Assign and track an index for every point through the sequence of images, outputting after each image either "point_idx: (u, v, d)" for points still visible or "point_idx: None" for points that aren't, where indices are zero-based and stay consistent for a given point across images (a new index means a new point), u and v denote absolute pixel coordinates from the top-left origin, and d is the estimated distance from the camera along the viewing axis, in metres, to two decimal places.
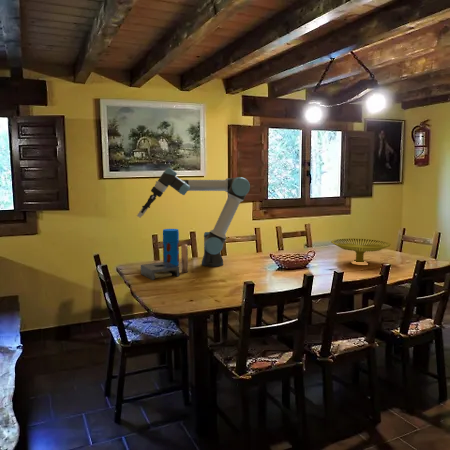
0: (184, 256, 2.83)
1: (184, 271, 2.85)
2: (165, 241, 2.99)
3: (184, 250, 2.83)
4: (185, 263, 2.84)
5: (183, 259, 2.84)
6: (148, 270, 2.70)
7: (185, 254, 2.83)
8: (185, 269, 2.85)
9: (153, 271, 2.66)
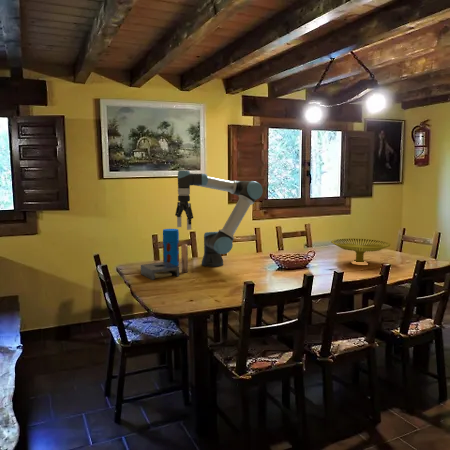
0: (184, 256, 2.83)
1: (184, 271, 2.85)
2: (165, 241, 2.99)
3: (184, 250, 2.83)
4: (185, 263, 2.84)
5: (183, 259, 2.84)
6: (148, 270, 2.70)
7: (185, 254, 2.83)
8: (185, 269, 2.85)
9: (153, 271, 2.66)
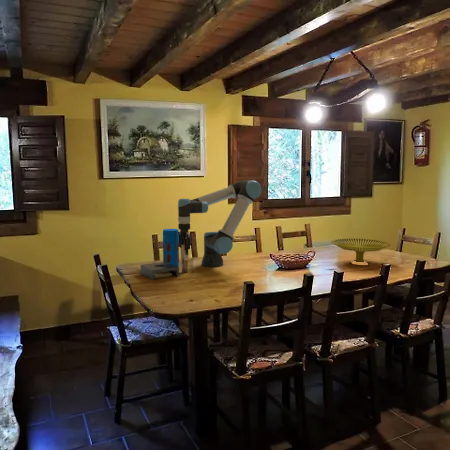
0: None
1: (184, 271, 2.85)
2: (165, 241, 2.99)
3: None
4: (185, 263, 2.84)
5: (183, 259, 2.84)
6: (148, 270, 2.70)
7: None
8: (185, 269, 2.85)
9: (153, 271, 2.66)
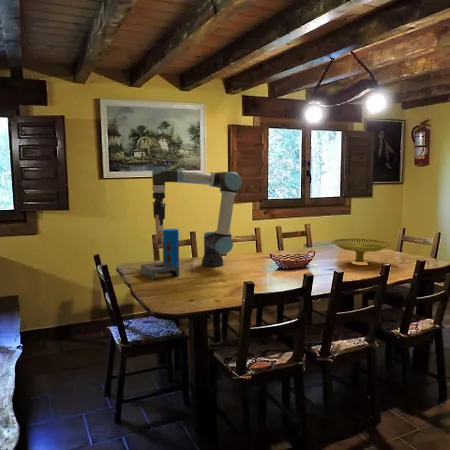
0: (158, 226, 2.73)
1: (158, 242, 2.74)
2: (165, 241, 2.99)
3: None
4: (160, 234, 2.73)
5: (157, 230, 2.73)
6: (148, 270, 2.70)
7: None
8: (160, 240, 2.74)
9: (153, 271, 2.66)
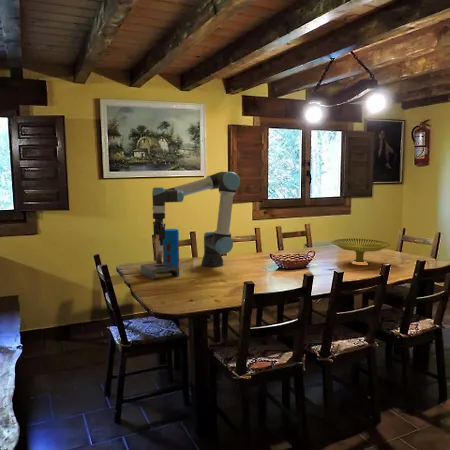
0: None
1: (159, 262, 2.75)
2: (165, 241, 2.99)
3: None
4: (160, 254, 2.75)
5: (158, 250, 2.74)
6: (148, 270, 2.70)
7: None
8: (160, 260, 2.75)
9: (153, 271, 2.66)
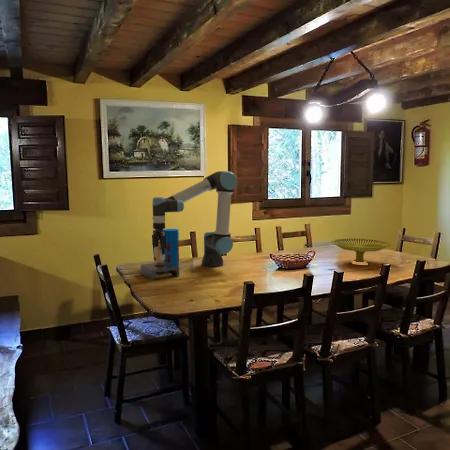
0: (159, 259, 2.75)
1: None
2: None
3: (159, 252, 2.75)
4: (160, 266, 2.76)
5: (158, 262, 2.75)
6: (148, 270, 2.70)
7: None
8: (160, 272, 2.76)
9: (153, 271, 2.66)
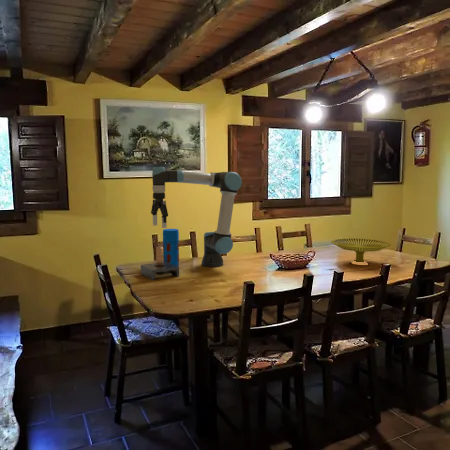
0: (159, 259, 2.75)
1: None
2: (165, 241, 2.99)
3: (159, 252, 2.75)
4: (160, 266, 2.76)
5: (158, 262, 2.75)
6: (148, 270, 2.70)
7: (160, 257, 2.75)
8: (160, 272, 2.76)
9: (153, 271, 2.66)
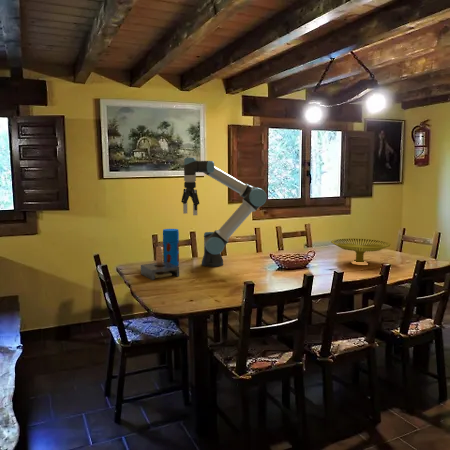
0: (159, 259, 2.75)
1: None
2: (165, 241, 2.99)
3: (159, 252, 2.75)
4: (160, 266, 2.76)
5: (158, 262, 2.75)
6: (148, 270, 2.70)
7: (160, 257, 2.75)
8: (160, 272, 2.76)
9: (153, 271, 2.66)
